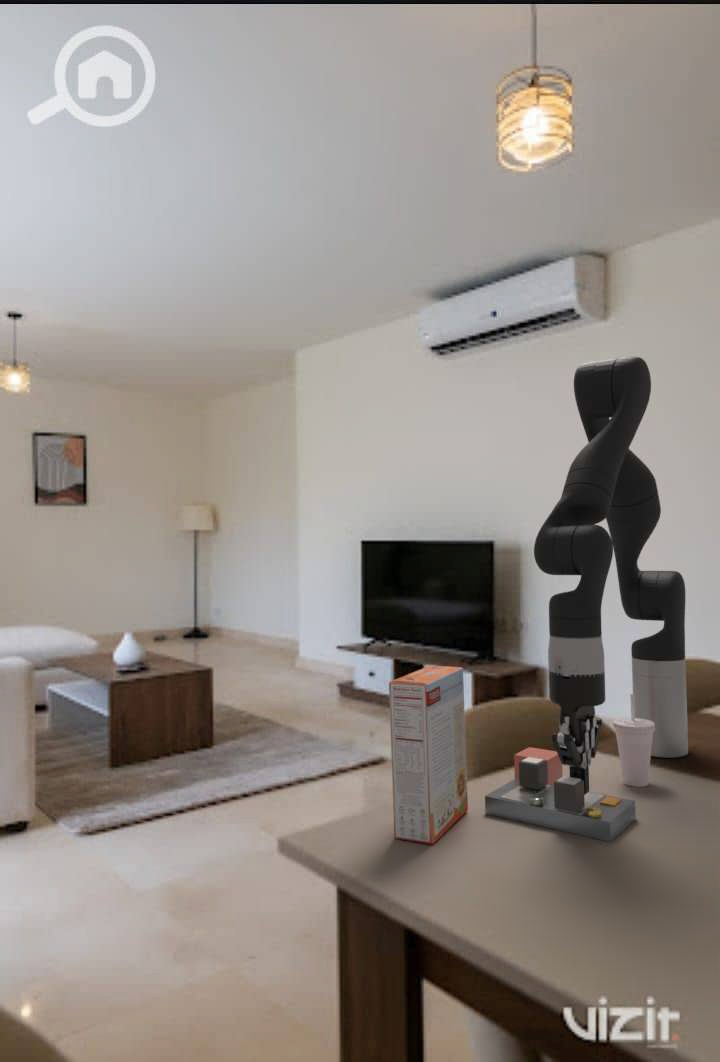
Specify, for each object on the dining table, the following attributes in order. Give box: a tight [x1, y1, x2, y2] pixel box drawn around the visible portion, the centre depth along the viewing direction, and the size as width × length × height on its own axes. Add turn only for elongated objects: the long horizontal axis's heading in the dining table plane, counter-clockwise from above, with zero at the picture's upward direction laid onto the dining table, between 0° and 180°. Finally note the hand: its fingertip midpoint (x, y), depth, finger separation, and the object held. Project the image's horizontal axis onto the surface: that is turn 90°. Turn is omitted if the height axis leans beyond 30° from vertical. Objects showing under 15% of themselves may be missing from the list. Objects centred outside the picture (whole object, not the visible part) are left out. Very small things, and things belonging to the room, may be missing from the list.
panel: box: [484, 778, 637, 843], centre depth 105 cm, size 10×18×3 cm, turn 52°
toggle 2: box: [554, 775, 585, 813], centre depth 100 cm, size 3×3×4 cm
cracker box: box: [388, 665, 469, 845], centre depth 103 cm, size 14×6×21 cm, turn 152°
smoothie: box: [612, 693, 655, 788], centre depth 119 cm, size 6×6×14 cm
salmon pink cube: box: [513, 746, 564, 785], centre depth 118 cm, size 6×6×5 cm
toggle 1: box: [519, 757, 547, 790], centre depth 110 cm, size 3×3×4 cm
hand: (579, 793), depth 103 cm, fingers closed
